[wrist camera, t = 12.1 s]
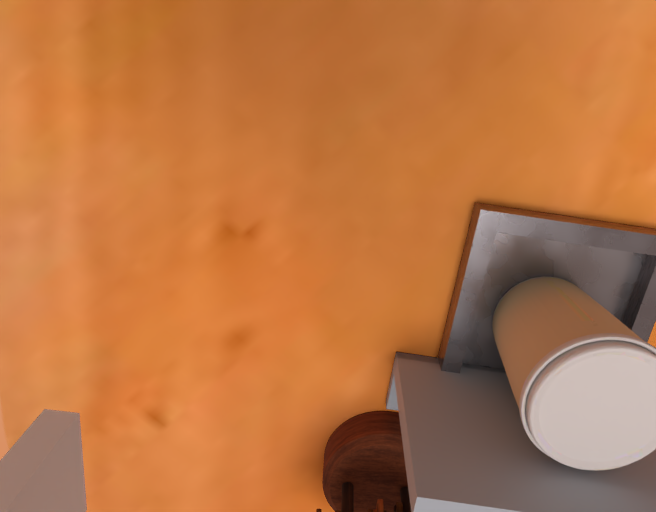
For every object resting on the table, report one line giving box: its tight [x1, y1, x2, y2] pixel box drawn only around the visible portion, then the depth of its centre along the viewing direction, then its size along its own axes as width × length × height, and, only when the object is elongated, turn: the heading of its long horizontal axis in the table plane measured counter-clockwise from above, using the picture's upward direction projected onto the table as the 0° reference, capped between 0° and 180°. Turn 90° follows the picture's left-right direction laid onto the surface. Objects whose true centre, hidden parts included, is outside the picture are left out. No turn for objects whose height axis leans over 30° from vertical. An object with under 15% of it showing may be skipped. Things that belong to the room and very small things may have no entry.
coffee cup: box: [492, 276, 656, 471], centre depth 38 cm, size 9×9×12 cm
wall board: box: [386, 352, 656, 512], centre depth 39 cm, size 5×22×16 cm, turn 82°
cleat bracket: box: [438, 203, 656, 373], centre depth 43 cm, size 14×15×2 cm
